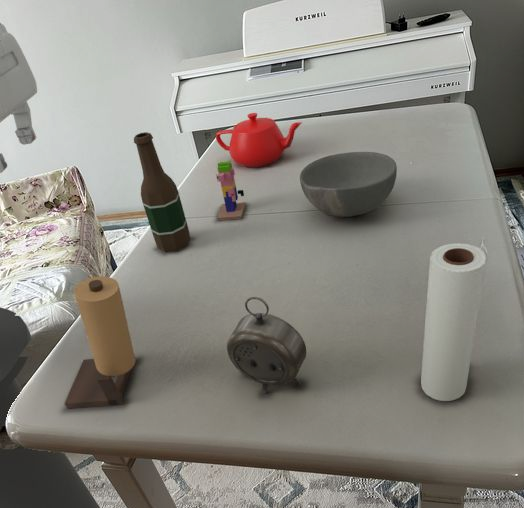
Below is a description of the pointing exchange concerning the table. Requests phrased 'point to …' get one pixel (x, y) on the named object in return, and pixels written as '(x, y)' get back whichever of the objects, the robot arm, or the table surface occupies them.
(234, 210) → the figurine
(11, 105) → the robot arm
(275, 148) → the teapot
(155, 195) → the beer bottle
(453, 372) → the paper towel roll
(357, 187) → the bowl
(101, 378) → the stand
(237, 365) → the alarm clock
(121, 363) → the tan cylinder
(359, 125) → the table surface
